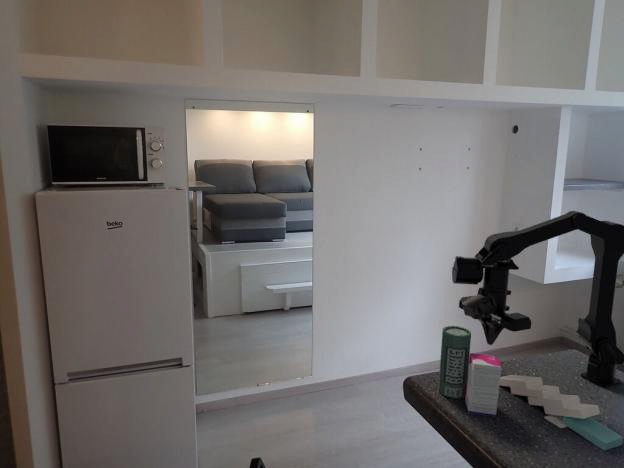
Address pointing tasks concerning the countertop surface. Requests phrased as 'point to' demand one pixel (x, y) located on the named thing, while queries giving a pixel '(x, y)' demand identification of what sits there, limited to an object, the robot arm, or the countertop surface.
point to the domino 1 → (520, 381)
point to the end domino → (594, 432)
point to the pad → (556, 420)
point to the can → (454, 361)
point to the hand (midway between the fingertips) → (490, 344)
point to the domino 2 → (537, 391)
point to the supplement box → (483, 384)
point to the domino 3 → (555, 401)
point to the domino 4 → (574, 411)
